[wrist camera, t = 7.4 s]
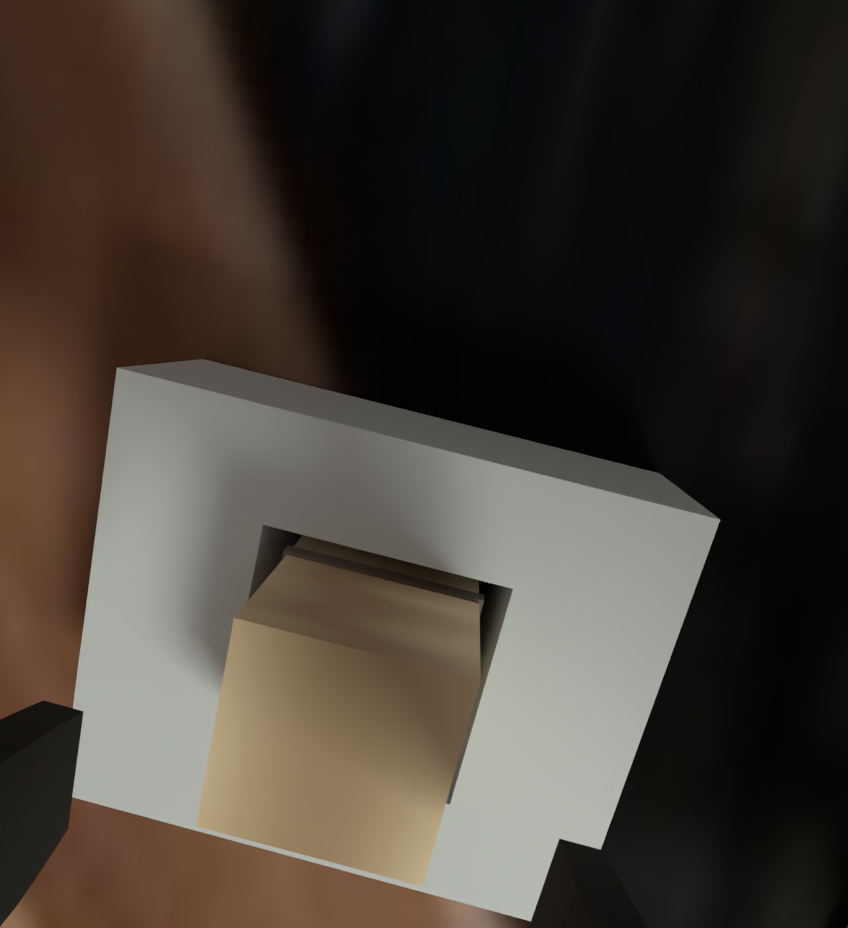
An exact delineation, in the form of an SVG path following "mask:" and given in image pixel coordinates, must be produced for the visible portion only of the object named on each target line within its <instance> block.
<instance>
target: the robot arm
mask: <svg viewBox="0 0 848 928" xmlns="http://www.w3.org/2000/svg"><path fill="white" fill-rule="evenodd" d="M83 712H84V711H80V710H77V709H73V708H69V707H65V706H62V705H58V704H54V703H50V702H47V701H41V702H39V703H37V704H34V705H32V706H30V707H27V708H25V709H23V710H20V711H18V712H16V713H14V714H12V715H9V716H7V717H5V718H3V719H1V720H0V926H1V925H2V923H3V922H4V921H5V920H6V918H7V917H8V916H9V915H10V913H11V912H12V911H13V910H14V908H15V907H16V906H17V905H18V903H19V902H20V900H21V899H22V897H23V896H24V894H25V893H26V892H27V890H28V889H29V887H30V886H31V884H32V883H33V881H34V880H35V878H36V877H37V875H38V874H39V872H40V871H41V870H42V868H43V866H44V865H45V863H46V862H47V860H48V859H49V857H50V856H51V854H52V853H53V851H54V850H55V848H56V846H57V845H58V843H59V842H60V840H61V839H62V837H63V836H64V834H65V833H66V831H67V830H68V824H69V817H70V809H71V802H72V794H73V787H74V779H75V772H76V764H77V757H78V750H79V742H80V735H81V727H82V720H83ZM529 928H647V927H646V925H645V923H644V921H643V920H642V918H641V916H640V915H639V913H638V911H637V909H636V908H635V906H634V904H633V903H632V901H631V899H630V897H629V896H628V894H627V892H626V890H625V889H624V887H623V885H622V884H621V882H620V880H619V878H618V877H617V875H616V873H615V871H614V870H613V868H612V866H611V865H610V863H609V861H608V859H607V858H606V856H605V854H604V853H603V851H602V850H600V849H596V848H593V847H589V846H585V845H581V844H578V843H574V842H570V841H567V840H563V839H559V841H558V844H557V847H556V850H555V853H554V856H553V859H552V862H551V864H550V867H549V870H548V873H547V876H546V879H545V882H544V885H543V888H542V891H541V894H540V896H539V899H538V902H537V905H536V908H535V911H534V914H533V917H532V920H531V923H530V926H529ZM847 928H848V926H847Z"/></svg>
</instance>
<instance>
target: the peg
mask: <svg viewBox="0 0 848 928" xmlns="http://www.w3.org/2000/svg"><path fill="white" fill-rule="evenodd" d="M483 603H484V595H483V594H479V580H476V579H472V578H468V577H465V576H461V575H457V574H453V573H449V572H445V571H441V570H437V569H433V568H430V567H426V566H422V565H418V564H414V563H410V562H406V561H402V560H398V559H395V558H391V557H387V556H383V555H379V554H375V553H371V552H367V551H363V550H360V549H356V548H352V547H348V546H344V545H340V544H336V543H332V542H328V541H325V540H321V539H317V538H313V537H309V536H305V535H303V536H302V537H301V538H300V539H299V541H298V542H297V543H296V544H295V545H294V546H289V545H288V546H287V547H286V548H285V549H284V550H283V555H282V560H281V562H280V563H279V564H278V566H277V567H276V568H275V569H274V570H273V572H272V573H271V574H270V575H269V576H268V578H267V579H266V580H265V581H264V582H263V584H262V585H261V586H260V587H259V588H258V590H257V591H256V592H255V593H254V594H253V596H252V597H251V598H250V599H249V600H248V602H247V603H246V604H245V605H244V606H243V608H242V609H241V610H240V611H239V612H238V613H237V615H236V616H235V617H234V620H233V626H232V631H231V637H230V642H229V648H228V653H227V659H226V664H225V670H224V675H223V681H222V686H221V692H220V698H219V703H218V709H217V714H216V720H215V725H214V731H213V736H212V742H211V747H210V753H209V758H208V764H207V769H206V775H205V780H204V786H203V791H202V797H201V802H200V808H199V813H198V819H197V824H196V826H197V827H201V828H204V829H208V830H212V831H216V832H220V833H223V834H227V835H231V836H235V837H238V838H242V839H246V840H250V841H253V842H257V843H261V844H265V845H269V846H272V847H276V848H280V849H284V850H287V851H291V852H295V853H299V854H302V855H306V856H310V857H314V858H318V859H321V860H325V861H329V862H333V863H336V864H340V865H344V866H348V867H351V868H355V869H359V870H363V871H367V872H370V873H374V874H378V875H382V876H385V877H389V878H393V879H397V880H400V881H404V882H408V883H412V884H416V885H419V886H423V882H424V879H425V875H426V872H427V868H428V865H429V861H430V858H431V854H432V851H433V847H434V844H435V840H436V837H437V833H438V830H439V826H440V823H441V819H442V816H443V812H444V809H445V805H446V802H447V798H448V795H449V791H450V788H451V784H452V781H453V777H454V774H455V770H456V766H457V763H458V759H459V756H460V752H461V749H462V745H463V742H464V738H465V735H466V731H467V728H468V724H469V721H470V717H471V714H472V710H473V707H474V703H475V700H476V696H477V693H478V689H479V686H480V682H481V663H480V614H481V610H482V607H483Z"/></svg>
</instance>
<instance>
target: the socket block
mask: <svg viewBox="0 0 848 928" xmlns="http://www.w3.org/2000/svg"><path fill="white" fill-rule="evenodd" d="M719 522H720V519H719V518H718V517H716V516H715V515H714V514H712V513H711V512H710V511H708V510H707V509H706V508H704V507H703V506H702V505H700V504H699V503H698V502H697V501H695V500H694V499H693V498H691V497H690V496H689V495H687V494H686V493H685V492H683V491H682V490H681V489H679V488H678V487H677V486H676V485H674V484H673V483H672V482H670V481H669V480H668V479H666V478H665V477H664V476H662V475H661V474H660V473H656V472H652V471H648V470H644V469H640V468H636V467H632V466H628V465H624V464H620V463H616V462H612V461H608V460H604V459H600V458H596V457H592V456H588V455H584V454H580V453H576V452H572V451H568V450H564V449H560V448H556V447H552V446H548V445H544V444H540V443H536V442H532V441H528V440H525V439H521V438H517V437H513V436H509V435H505V434H501V433H497V432H493V431H489V430H485V429H481V428H477V427H473V426H469V425H465V424H461V423H457V422H453V421H449V420H445V419H441V418H437V417H433V416H429V415H425V414H421V413H417V412H413V411H409V410H405V409H401V408H397V407H393V406H389V405H385V404H381V403H377V402H373V401H369V400H365V399H361V398H357V397H353V396H349V395H345V394H341V393H337V392H333V391H329V390H325V389H321V388H317V387H313V386H309V385H305V384H301V383H297V382H293V381H289V380H285V379H281V378H277V377H273V376H269V375H265V374H261V373H257V372H253V371H249V370H245V369H241V368H237V367H233V366H229V365H225V364H221V363H217V362H213V361H209V360H205V359H198V360H188V361H178V362H168V363H158V364H148V365H138V366H128V367H118V368H117V371H116V379H115V387H114V394H113V402H112V410H111V418H110V425H109V433H108V441H107V448H106V456H105V464H104V472H103V479H102V487H101V495H100V503H99V510H98V518H97V526H96V533H95V541H94V549H93V557H92V564H91V572H90V580H89V587H88V595H87V603H86V611H85V618H84V626H83V634H82V642H81V649H80V657H79V665H78V672H77V680H76V688H75V696H74V703H73V709H77V710H80V711H84V712H83V720H82V727H81V735H80V742H79V750H78V757H77V764H76V772H75V779H74V787H73V794H72V797H74V798H78V799H81V800H85V801H89V802H92V803H96V804H100V805H103V806H107V807H111V808H114V809H118V810H122V811H126V812H129V813H133V814H137V815H140V816H144V817H148V818H151V819H155V820H159V821H162V822H166V823H170V824H174V825H177V826H181V827H185V828H188V829H192V830H196V831H199V832H203V833H207V834H210V835H214V836H218V837H222V838H225V839H229V840H233V841H236V842H240V843H244V844H247V845H251V846H255V847H258V848H262V849H266V850H270V851H273V852H277V853H281V854H284V855H288V856H292V857H295V858H299V859H303V860H306V861H310V862H314V863H318V864H321V865H325V866H329V867H332V868H336V869H340V870H343V871H347V872H351V873H354V874H358V875H362V876H366V877H369V878H373V879H377V880H380V881H384V882H388V883H391V884H395V885H399V886H402V887H406V888H410V889H414V890H417V891H421V892H425V893H428V894H432V895H436V896H439V897H443V898H447V899H450V900H454V901H458V902H462V903H465V904H469V905H473V906H476V907H480V908H484V909H487V910H491V911H495V912H498V913H502V914H506V915H510V916H513V917H517V918H521V919H524V920H528V921H531V920H532V917H533V914H534V911H535V908H536V905H537V902H538V899H539V896H540V894H541V891H542V888H543V885H544V882H545V879H546V876H547V873H548V870H549V867H550V864H551V862H552V859H553V856H554V853H555V850H556V847H557V844H558V841H559V839H563V840H567V841H570V842H574V843H578V844H581V845H585V846H589V847H593V848H596V849H600V850H601V847H602V844H603V842H604V839H605V836H606V833H607V831H608V828H609V825H610V822H611V819H612V817H613V814H614V811H615V808H616V806H617V803H618V800H619V797H620V795H621V792H622V789H623V786H624V784H625V781H626V778H627V775H628V773H629V770H630V767H631V764H632V762H633V759H634V756H635V753H636V751H637V748H638V745H639V742H640V740H641V737H642V734H643V731H644V729H645V726H646V723H647V720H648V718H649V715H650V712H651V709H652V707H653V704H654V701H655V698H656V696H657V693H658V690H659V687H660V684H661V682H662V679H663V676H664V673H665V671H666V668H667V665H668V662H669V660H670V657H671V654H672V651H673V649H674V646H675V643H676V640H677V638H678V635H679V632H680V629H681V627H682V624H683V621H684V618H685V616H686V613H687V610H688V607H689V605H690V602H691V599H692V596H693V594H694V591H695V588H696V585H697V583H698V580H699V577H700V574H701V572H702V569H703V566H704V563H705V560H706V558H707V555H708V552H709V549H710V547H711V544H712V541H713V538H714V536H715V533H716V530H717V527H718V525H719ZM301 535H305V536H309V537H313V538H317V539H321V540H325V541H328V542H332V543H336V544H340V545H344V546H348V547H352V548H356V549H360V550H363V551H367V552H371V553H375V554H379V555H383V556H387V557H391V558H395V559H398V560H402V561H406V562H410V563H414V564H418V565H422V566H426V567H430V568H433V569H437V570H441V571H445V572H449V573H453V574H457V575H461V576H465V577H468V578H472V579H476V580H480V581H484V582H488V586H487V589H486V593H485V596H484V603H483V607H482V610H481V614H480V663H481V682H480V686H479V689H478V693H477V696H476V700H475V703H474V707H473V710H472V714H471V717H470V721H469V724H468V728H467V731H466V735H465V738H464V742H463V745H462V749H461V752H460V756H459V759H458V763H457V766H456V770H455V774H454V777H453V781H452V784H451V788H450V791H449V795H448V798H447V802H446V805H445V809H444V812H443V816H442V819H441V823H440V826H439V830H438V833H437V837H436V840H435V844H434V847H433V851H432V854H431V858H430V861H429V865H428V868H427V872H426V875H425V879H424V882H423V886H419V885H416V884H412V883H408V882H404V881H400V880H397V879H393V878H389V877H385V876H382V875H378V874H374V873H370V872H367V871H363V870H359V869H355V868H351V867H348V866H344V865H340V864H336V863H333V862H329V861H325V860H321V859H318V858H314V857H310V856H306V855H302V854H299V853H295V852H291V851H287V850H284V849H280V848H276V847H272V846H269V845H265V844H261V843H257V842H253V841H250V840H246V839H242V838H238V837H235V836H231V835H227V834H223V833H220V832H216V831H212V830H208V829H204V828H201V827H197V826H196V824H197V819H198V813H199V808H200V802H201V797H202V791H203V786H204V780H205V775H206V769H207V764H208V758H209V753H210V747H211V742H212V736H213V731H214V725H215V720H216V714H217V709H218V703H219V698H220V692H221V686H222V681H223V675H224V670H225V664H226V659H227V653H228V648H229V642H230V637H231V631H232V626H233V620H234V617H235V616H236V615H237V613H238V612H239V611H240V610H241V609H242V608H243V606H244V605H245V604H246V603H247V602H248V600H249V599H250V598H251V597H252V596H253V594H254V593H255V592H256V591H257V590H258V588H259V587H260V586H261V585H262V584H263V582H264V581H265V580H266V579H267V578H268V576H269V575H270V574H271V573H272V572H273V570H274V569H275V568H276V567H277V566H278V564H279V563H280V562H281V560H282V555H283V550H284V549H285V548H286V547H287V546H288V545H289V546H294V545H295V544H296V543H297V542H298V541H299V539H300V537H301Z"/></svg>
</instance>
